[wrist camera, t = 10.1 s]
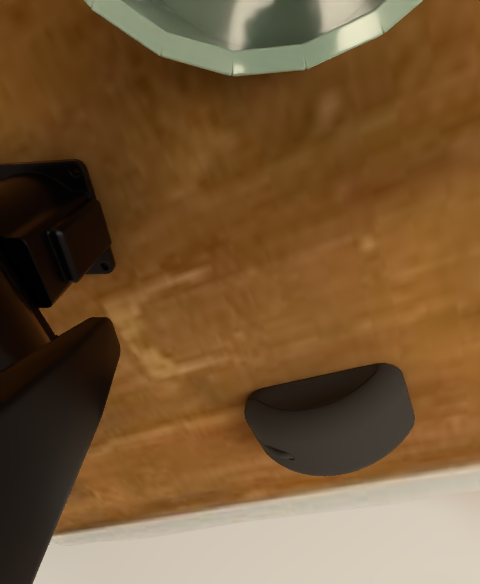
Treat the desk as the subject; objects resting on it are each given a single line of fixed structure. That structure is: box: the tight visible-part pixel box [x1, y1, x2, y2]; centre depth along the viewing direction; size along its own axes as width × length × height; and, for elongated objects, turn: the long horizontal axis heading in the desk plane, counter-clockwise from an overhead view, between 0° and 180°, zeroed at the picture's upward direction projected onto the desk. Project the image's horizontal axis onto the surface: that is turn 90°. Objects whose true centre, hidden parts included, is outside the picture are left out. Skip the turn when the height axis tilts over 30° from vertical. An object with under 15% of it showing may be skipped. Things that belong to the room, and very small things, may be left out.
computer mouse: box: [244, 363, 415, 476], centre depth 26 cm, size 6×11×4 cm, turn 114°
